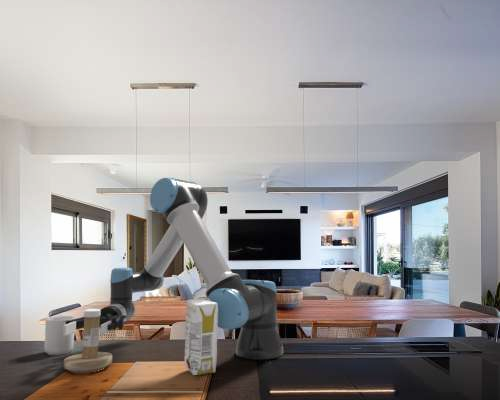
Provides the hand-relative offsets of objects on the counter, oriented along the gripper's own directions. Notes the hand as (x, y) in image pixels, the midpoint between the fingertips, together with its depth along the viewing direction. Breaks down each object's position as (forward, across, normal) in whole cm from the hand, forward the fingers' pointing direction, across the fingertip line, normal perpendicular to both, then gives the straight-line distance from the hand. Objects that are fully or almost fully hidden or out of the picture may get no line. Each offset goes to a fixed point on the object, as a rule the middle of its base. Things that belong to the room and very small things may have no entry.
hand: (83, 330), depth 114 cm
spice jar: (-4, 0, -9) cm, 10 cm away
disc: (-4, 0, -12) cm, 12 cm away
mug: (-25, +18, -12) cm, 33 cm away
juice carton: (0, -33, -11) cm, 35 cm away
